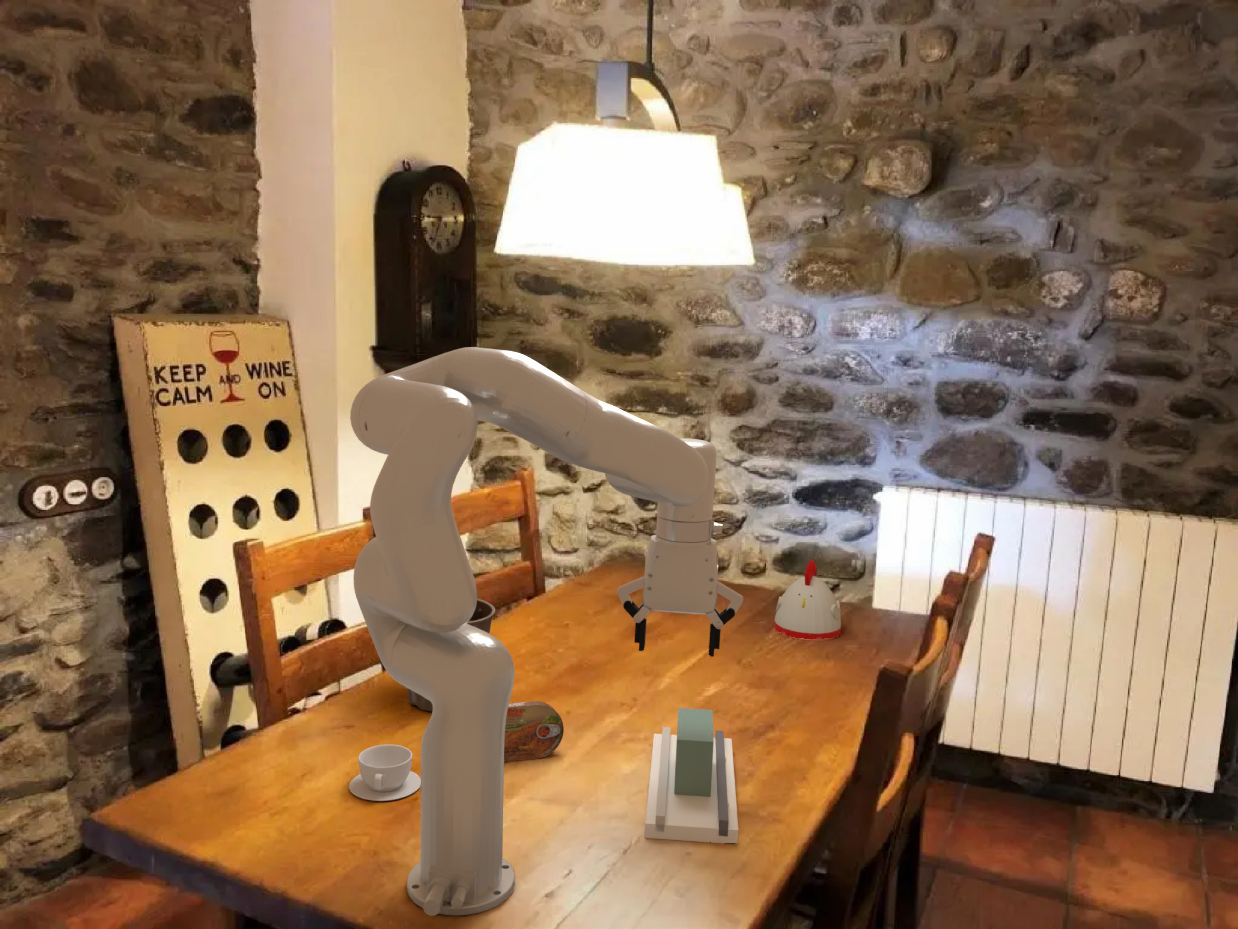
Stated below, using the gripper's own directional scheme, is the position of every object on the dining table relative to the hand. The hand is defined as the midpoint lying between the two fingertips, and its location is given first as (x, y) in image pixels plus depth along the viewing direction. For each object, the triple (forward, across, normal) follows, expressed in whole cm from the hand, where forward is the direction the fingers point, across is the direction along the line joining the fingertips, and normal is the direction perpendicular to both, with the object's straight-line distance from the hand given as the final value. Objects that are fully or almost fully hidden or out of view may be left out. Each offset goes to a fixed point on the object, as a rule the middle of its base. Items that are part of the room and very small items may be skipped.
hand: (676, 650), depth 146 cm
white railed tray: (+21, -3, -1) cm, 21 cm away
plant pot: (+21, +39, -28) cm, 52 cm away
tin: (+22, +24, -8) cm, 33 cm away
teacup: (+22, +40, +4) cm, 45 cm away
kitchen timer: (+20, -26, -78) cm, 84 cm away
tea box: (+19, -3, -1) cm, 19 cm away
